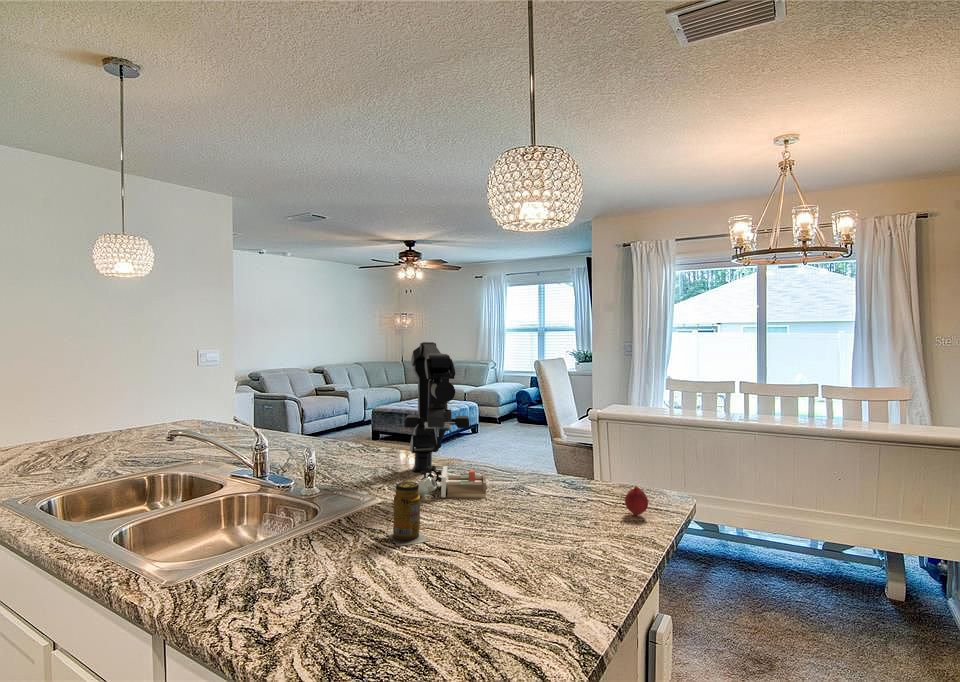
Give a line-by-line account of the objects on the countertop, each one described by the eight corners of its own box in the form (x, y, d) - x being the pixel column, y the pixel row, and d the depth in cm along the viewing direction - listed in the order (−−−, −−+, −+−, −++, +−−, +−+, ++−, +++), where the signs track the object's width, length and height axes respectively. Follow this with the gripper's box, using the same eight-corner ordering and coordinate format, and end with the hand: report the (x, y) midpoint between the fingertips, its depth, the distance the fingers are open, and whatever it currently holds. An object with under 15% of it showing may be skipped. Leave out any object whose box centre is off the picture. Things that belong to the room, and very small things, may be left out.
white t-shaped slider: (443, 484, 157) (443, 465, 156) (481, 484, 157) (481, 465, 157) (441, 497, 145) (441, 476, 144) (482, 497, 145) (482, 477, 145)
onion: (651, 515, 134) (652, 485, 134) (641, 521, 130) (642, 490, 130) (630, 510, 138) (631, 480, 138) (620, 515, 134) (621, 485, 134)
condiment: (416, 528, 123) (416, 478, 123) (428, 541, 115) (429, 488, 115) (386, 533, 120) (387, 482, 119) (396, 547, 112) (397, 492, 112)
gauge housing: (448, 486, 156) (448, 473, 156) (484, 486, 156) (484, 473, 156) (447, 497, 146) (447, 483, 146) (485, 497, 146) (486, 483, 146)
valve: (416, 505, 143) (426, 489, 155) (436, 496, 142) (446, 481, 154) (405, 484, 143) (417, 470, 155) (426, 475, 142) (436, 461, 154)
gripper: (402, 401, 142) (401, 457, 142) (469, 402, 142) (468, 458, 142) (407, 395, 153) (406, 447, 153) (469, 396, 153) (468, 448, 153)
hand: (436, 450), depth 150 cm, fingers closed
